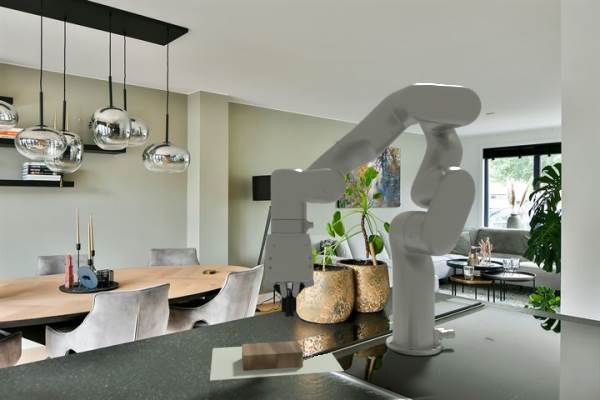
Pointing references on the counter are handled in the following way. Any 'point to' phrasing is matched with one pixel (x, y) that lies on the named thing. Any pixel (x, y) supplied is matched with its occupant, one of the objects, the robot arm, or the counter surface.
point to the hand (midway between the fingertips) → (288, 315)
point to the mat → (231, 367)
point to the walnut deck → (271, 355)
